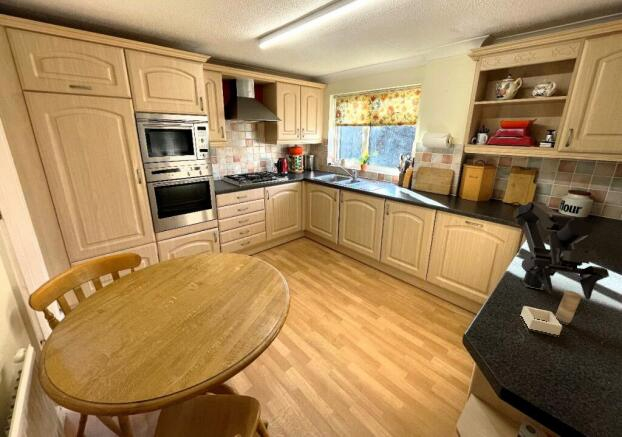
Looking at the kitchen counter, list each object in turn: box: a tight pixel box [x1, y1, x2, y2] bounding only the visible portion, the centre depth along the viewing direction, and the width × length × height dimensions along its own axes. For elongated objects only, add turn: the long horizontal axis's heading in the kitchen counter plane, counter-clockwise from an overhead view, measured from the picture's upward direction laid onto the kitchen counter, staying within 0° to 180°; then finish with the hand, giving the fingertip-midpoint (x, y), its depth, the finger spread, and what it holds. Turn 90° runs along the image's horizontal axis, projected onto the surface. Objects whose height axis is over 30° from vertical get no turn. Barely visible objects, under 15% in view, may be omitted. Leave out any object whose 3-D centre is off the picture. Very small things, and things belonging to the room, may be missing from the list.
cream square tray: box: [520, 305, 563, 336], centre depth 79 cm, size 7×7×4 cm
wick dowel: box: [554, 290, 582, 324], centre depth 81 cm, size 4×4×10 cm
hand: (569, 296), depth 81 cm, fingers open, 9 cm apart
